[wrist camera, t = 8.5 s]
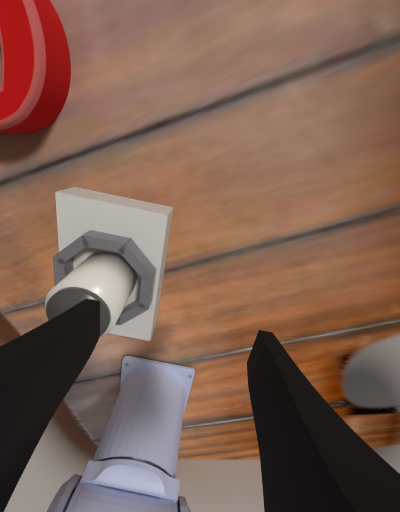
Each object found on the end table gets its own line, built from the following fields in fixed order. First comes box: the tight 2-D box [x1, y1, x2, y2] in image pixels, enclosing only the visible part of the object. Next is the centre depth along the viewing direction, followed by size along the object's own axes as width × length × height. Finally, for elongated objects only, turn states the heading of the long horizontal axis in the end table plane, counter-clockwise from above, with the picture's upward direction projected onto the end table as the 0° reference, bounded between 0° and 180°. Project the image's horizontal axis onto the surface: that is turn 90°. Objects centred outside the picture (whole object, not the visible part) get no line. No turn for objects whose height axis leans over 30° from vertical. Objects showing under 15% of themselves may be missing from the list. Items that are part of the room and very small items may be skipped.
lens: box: [45, 251, 137, 338], centre depth 17 cm, size 4×4×5 cm
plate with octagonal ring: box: [53, 187, 174, 341], centre depth 19 cm, size 12×8×4 cm, turn 169°
